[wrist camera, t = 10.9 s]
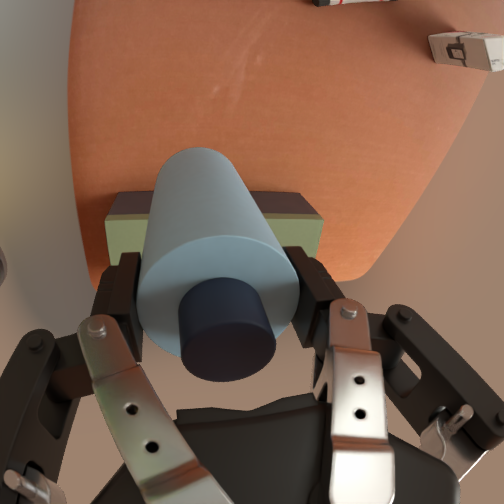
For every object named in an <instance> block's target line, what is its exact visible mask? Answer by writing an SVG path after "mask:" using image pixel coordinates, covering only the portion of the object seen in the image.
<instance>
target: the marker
mask: <svg viewBox="0 0 504 504" xmlns="http://www.w3.org/2000/svg"><path fill="white" fill-rule="evenodd" d="M312 1H313V4H314V5H315V6H316V7H319V6H326V5H337V4H346V3H357V2H372V1H396V0H312Z"/></svg>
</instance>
